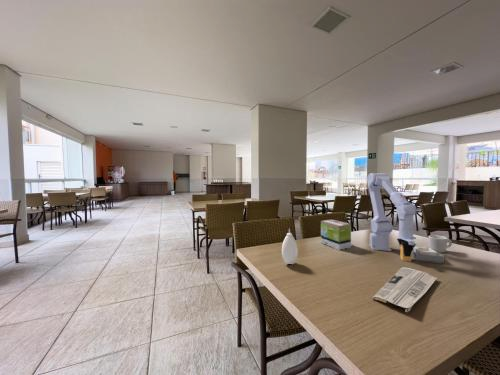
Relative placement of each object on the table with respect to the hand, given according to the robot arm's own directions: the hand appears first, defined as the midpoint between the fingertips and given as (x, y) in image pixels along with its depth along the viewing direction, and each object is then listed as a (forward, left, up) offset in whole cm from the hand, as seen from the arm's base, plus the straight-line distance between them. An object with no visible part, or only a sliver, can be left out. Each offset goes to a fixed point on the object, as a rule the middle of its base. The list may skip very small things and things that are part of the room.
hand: (405, 254), depth 105 cm
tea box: (-32, +14, -3) cm, 35 cm away
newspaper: (-10, -32, -3) cm, 34 cm away
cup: (+22, +18, -3) cm, 29 cm away
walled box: (+10, +4, -2) cm, 11 cm away
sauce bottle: (-55, -21, -3) cm, 59 cm away
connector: (0, 0, -2) cm, 2 cm away
